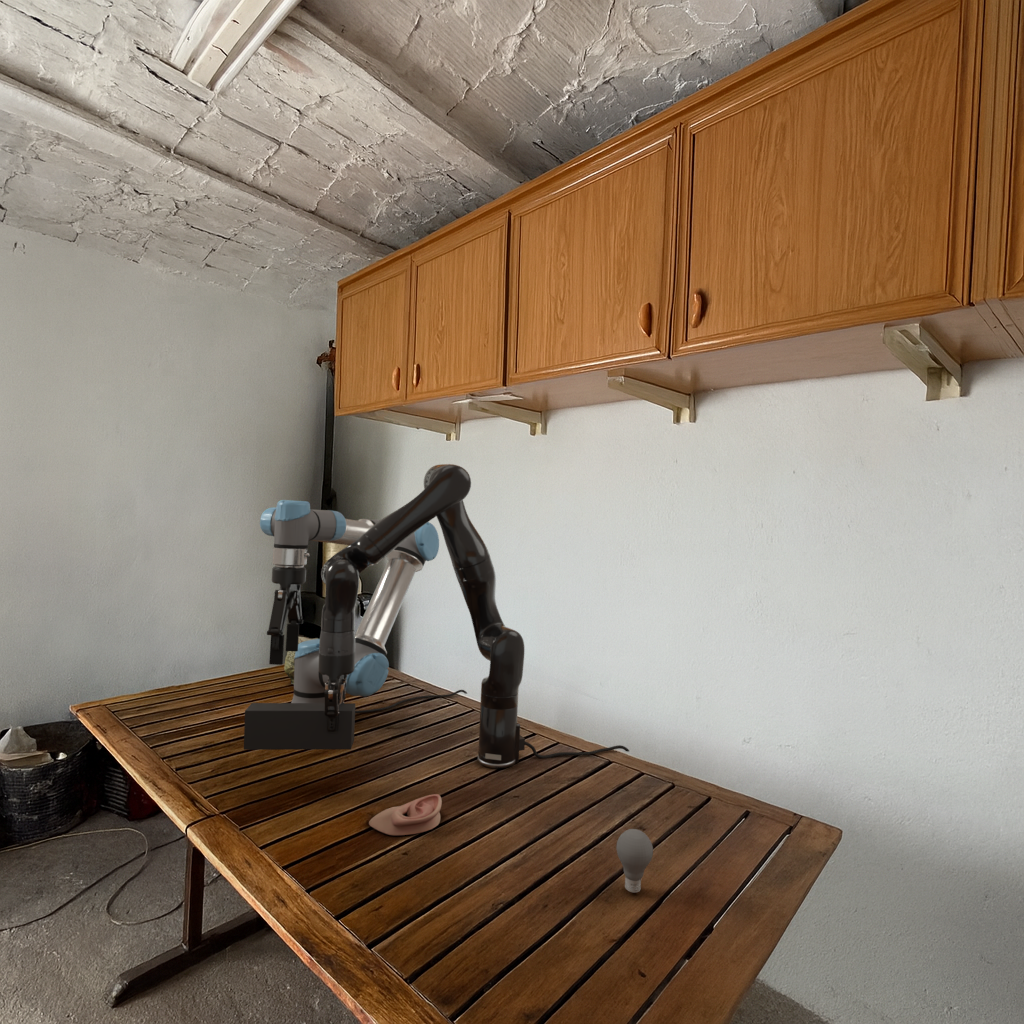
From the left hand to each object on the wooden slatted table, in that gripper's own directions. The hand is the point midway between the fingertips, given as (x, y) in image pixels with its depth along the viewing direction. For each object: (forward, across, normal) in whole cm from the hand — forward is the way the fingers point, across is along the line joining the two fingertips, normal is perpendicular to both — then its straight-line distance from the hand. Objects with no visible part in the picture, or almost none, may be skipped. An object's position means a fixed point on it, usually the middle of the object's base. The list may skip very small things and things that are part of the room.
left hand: (284, 657), depth 147 cm
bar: (+16, -12, -7) cm, 21 cm away
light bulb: (+26, -48, -71) cm, 89 cm away
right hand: (+12, -11, -14) cm, 22 cm away
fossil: (+24, +69, +7) cm, 73 cm away
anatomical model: (+26, -25, -32) cm, 48 cm away
